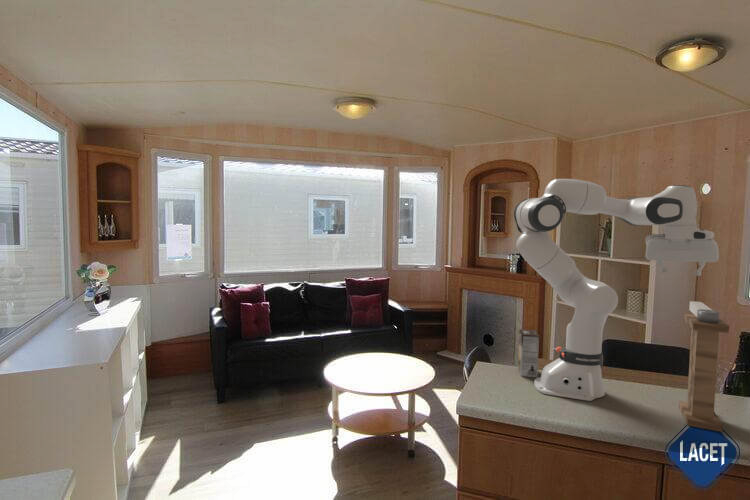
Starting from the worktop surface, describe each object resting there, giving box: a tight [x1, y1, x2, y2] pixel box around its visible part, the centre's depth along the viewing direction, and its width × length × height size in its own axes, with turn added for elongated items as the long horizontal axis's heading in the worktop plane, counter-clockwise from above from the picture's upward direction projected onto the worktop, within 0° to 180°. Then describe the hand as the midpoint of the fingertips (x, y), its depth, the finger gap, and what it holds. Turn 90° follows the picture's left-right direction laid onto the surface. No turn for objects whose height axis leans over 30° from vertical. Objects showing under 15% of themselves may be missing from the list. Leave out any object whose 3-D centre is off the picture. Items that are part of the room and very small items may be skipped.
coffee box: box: [517, 328, 540, 378], centre depth 165 cm, size 9×6×16 cm
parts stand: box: [678, 313, 730, 433], centre depth 127 cm, size 14×8×30 cm, turn 153°
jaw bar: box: [688, 300, 720, 323], centre depth 130 cm, size 20×5×3 cm, turn 153°
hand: (680, 274), depth 145 cm, fingers open, 8 cm apart
